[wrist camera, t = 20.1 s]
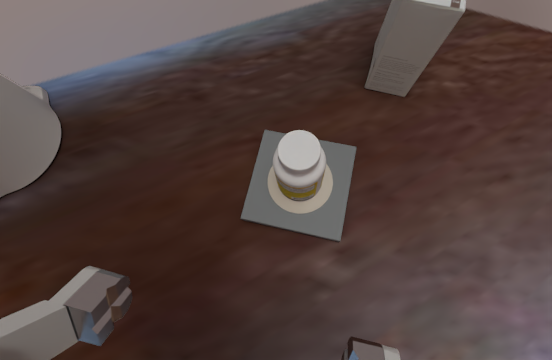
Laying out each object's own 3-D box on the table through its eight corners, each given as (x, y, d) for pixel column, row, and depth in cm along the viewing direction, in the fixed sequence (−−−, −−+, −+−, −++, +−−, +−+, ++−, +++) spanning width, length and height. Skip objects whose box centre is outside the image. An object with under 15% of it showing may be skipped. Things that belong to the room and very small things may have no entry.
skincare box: (374, 43, 43) (413, -70, 28) (416, 51, 42) (478, -62, 27) (363, 92, 40) (399, -5, 26) (407, 101, 39) (470, 6, 25)
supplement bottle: (296, 152, 37) (296, 112, 27) (330, 178, 35) (342, 145, 26) (268, 183, 36) (257, 153, 26) (301, 211, 34) (303, 190, 25)
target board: (242, 219, 36) (240, 217, 35) (265, 133, 39) (264, 129, 38) (338, 242, 34) (340, 240, 33) (354, 150, 38) (356, 146, 36)
